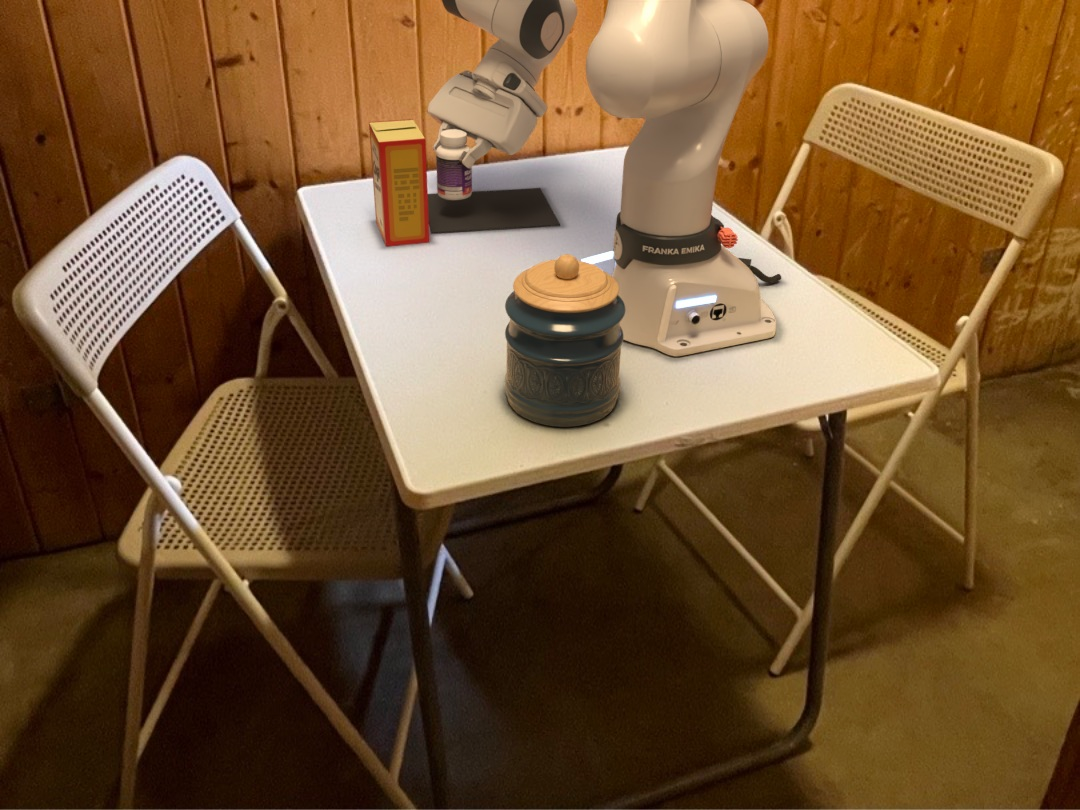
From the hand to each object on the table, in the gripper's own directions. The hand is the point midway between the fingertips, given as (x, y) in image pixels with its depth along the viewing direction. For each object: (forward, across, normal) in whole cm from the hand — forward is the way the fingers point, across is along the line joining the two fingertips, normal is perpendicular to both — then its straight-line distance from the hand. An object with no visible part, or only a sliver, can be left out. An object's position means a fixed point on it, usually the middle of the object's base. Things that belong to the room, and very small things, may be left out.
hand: (450, 158), depth 154 cm
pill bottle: (+4, 0, +5) cm, 6 cm away
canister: (+21, +50, -8) cm, 55 cm away
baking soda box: (+13, 0, 0) cm, 13 cm away
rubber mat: (+2, +1, +11) cm, 11 cm away
